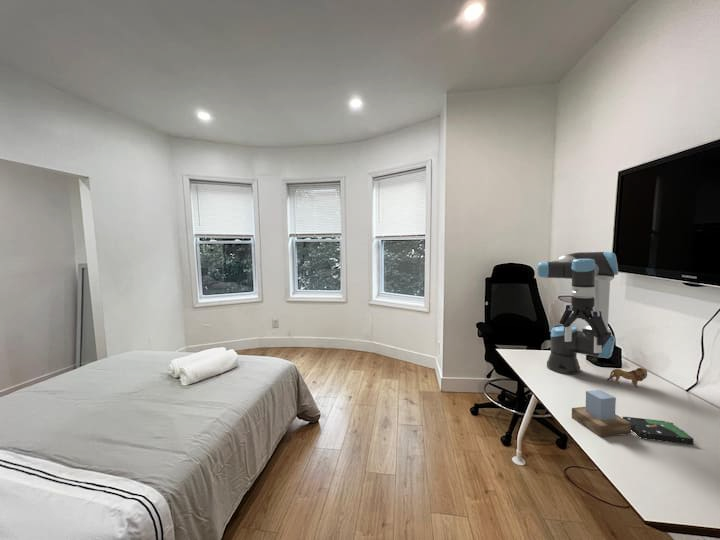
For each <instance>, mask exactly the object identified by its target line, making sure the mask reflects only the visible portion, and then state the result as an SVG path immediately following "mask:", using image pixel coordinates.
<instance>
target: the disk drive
mask: <svg viewBox="0 0 720 540" xmlns="http://www.w3.org/2000/svg"><path fill="white" fill-rule="evenodd" d="M622 418H623V419H625V420H627V421H629V422H630V423H631V430H632V431H633V432H635V433H636V434H637V435H638V436H639V437H641V438H640V439H642V438H647V439H646V440H650V439H655V440H654V441H658V440H661V441H660V442H665V441H668V442H667V443H673V444H674V443H675V444H682V445H687V446H688V445H689V446H694V437H692V436H690V434H688V433H687V432H685V431H684V430H683V429H681V428H679V426H677V425H675V424H674V423H673V422H670V421H665V420H657V419H648V418H641V417H631V416H622ZM632 431H631V432H632ZM633 432H632V433H633ZM637 435H636V436H637ZM638 436H637V437H638ZM639 437H638V438H639Z"/></svg>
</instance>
